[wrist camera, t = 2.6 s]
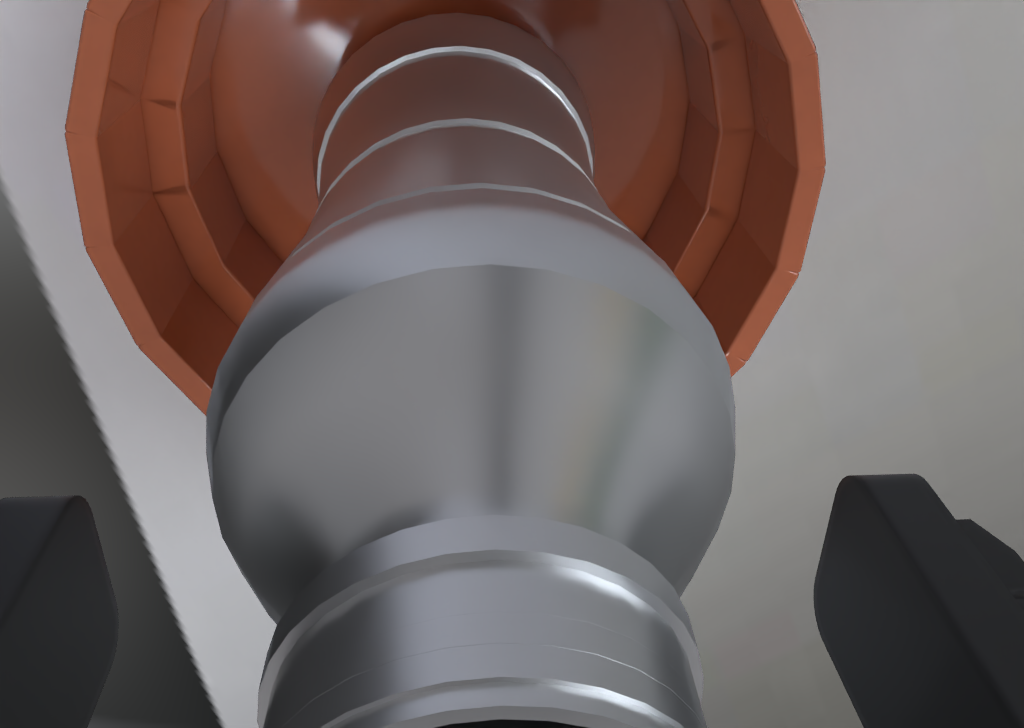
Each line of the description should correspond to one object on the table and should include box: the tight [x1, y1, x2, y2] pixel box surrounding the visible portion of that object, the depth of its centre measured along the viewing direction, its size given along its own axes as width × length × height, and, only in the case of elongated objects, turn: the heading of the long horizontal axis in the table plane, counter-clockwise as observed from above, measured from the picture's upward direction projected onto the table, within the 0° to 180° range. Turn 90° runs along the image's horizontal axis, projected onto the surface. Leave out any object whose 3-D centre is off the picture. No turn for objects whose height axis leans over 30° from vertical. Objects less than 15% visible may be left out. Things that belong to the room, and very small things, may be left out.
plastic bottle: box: [206, 13, 735, 728], centre depth 16 cm, size 6×7×20 cm
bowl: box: [65, 0, 826, 415], centre depth 22 cm, size 15×15×6 cm
